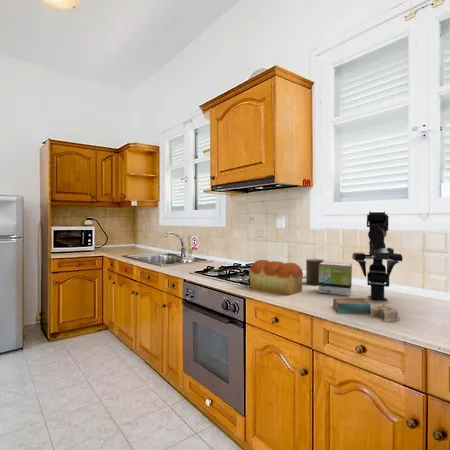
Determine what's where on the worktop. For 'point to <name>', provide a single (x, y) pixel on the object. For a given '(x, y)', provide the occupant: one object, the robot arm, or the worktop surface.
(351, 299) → the slab
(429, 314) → the worktop surface
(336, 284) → the tea box
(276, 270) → the bread
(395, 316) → the cake
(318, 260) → the pillar candle
